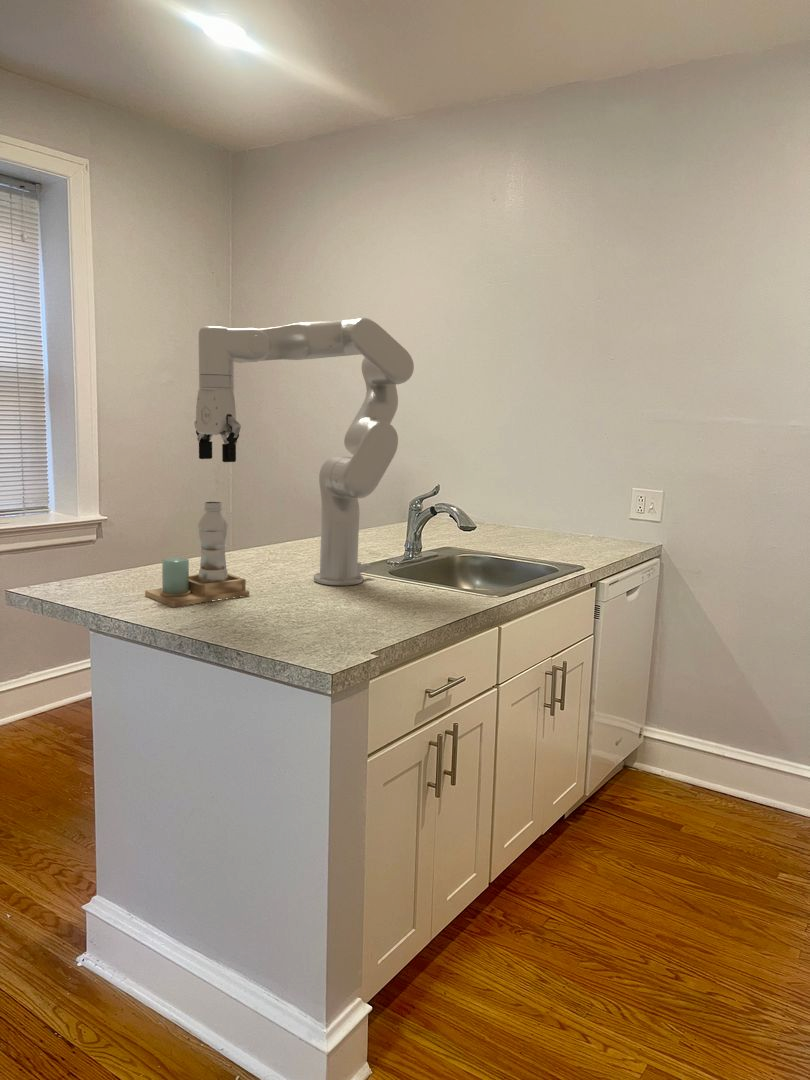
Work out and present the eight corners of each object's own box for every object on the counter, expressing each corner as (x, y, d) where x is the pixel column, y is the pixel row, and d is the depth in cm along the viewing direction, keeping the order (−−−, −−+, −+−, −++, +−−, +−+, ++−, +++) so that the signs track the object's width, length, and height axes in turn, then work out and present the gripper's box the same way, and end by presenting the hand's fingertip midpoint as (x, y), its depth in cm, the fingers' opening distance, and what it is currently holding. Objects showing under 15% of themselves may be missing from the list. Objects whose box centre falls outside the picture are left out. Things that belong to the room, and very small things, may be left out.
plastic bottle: (221, 593, 180) (221, 504, 177) (193, 590, 181) (192, 503, 178) (232, 587, 186) (233, 501, 183) (205, 584, 188) (205, 500, 184)
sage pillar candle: (180, 587, 181) (180, 556, 180) (193, 591, 178) (193, 561, 176) (157, 590, 178) (157, 559, 176) (170, 595, 174) (170, 563, 173)
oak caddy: (219, 585, 193) (219, 570, 192) (249, 596, 184) (249, 580, 183) (145, 595, 180) (145, 579, 179) (173, 607, 171) (173, 590, 170)
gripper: (181, 382, 182) (182, 458, 185) (223, 383, 170) (224, 463, 173) (210, 384, 187) (211, 457, 190) (252, 384, 175) (253, 462, 178)
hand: (217, 460), depth 182 cm, fingers open, 9 cm apart
